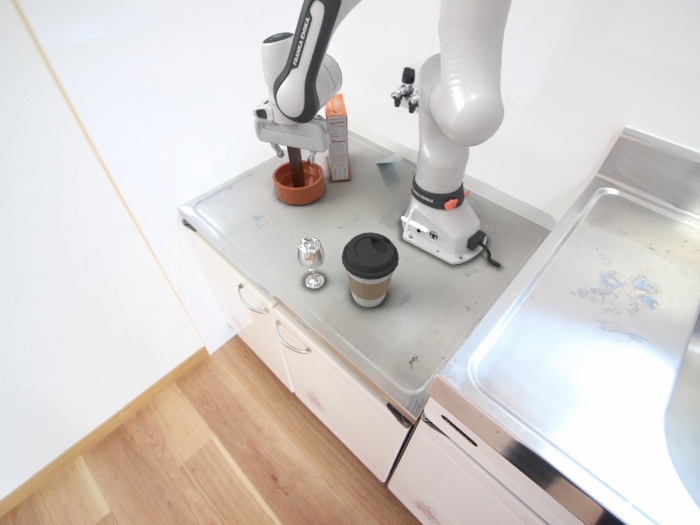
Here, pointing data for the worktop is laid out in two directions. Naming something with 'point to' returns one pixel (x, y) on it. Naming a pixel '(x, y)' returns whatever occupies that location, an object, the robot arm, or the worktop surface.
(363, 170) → the worktop surface
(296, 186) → the stick
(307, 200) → the bowl
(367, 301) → the coffee cup
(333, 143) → the cracker box
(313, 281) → the wineglass
